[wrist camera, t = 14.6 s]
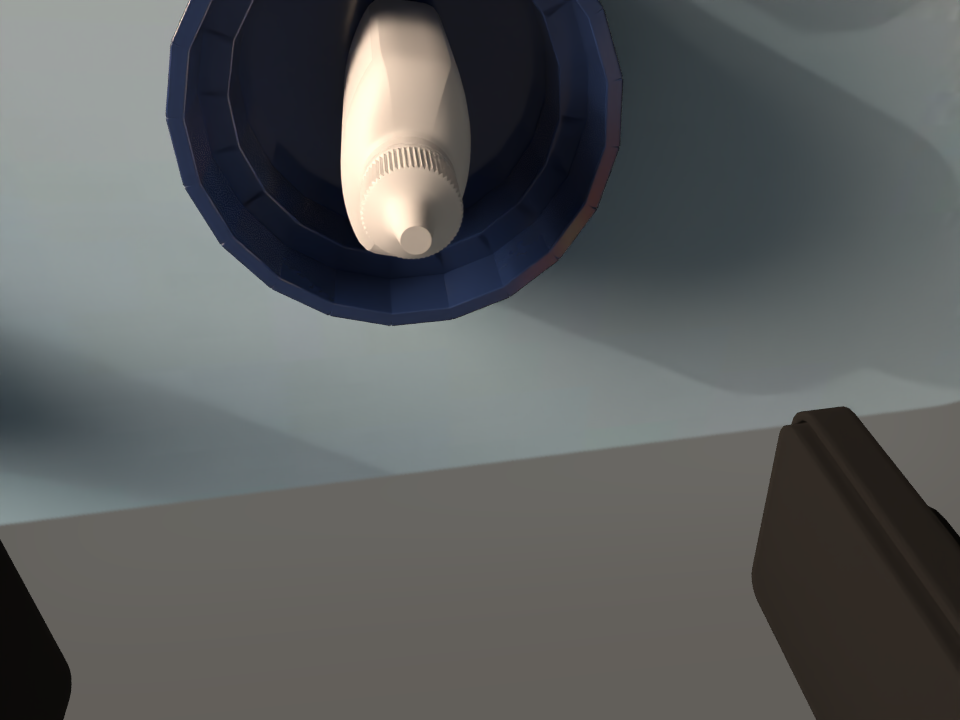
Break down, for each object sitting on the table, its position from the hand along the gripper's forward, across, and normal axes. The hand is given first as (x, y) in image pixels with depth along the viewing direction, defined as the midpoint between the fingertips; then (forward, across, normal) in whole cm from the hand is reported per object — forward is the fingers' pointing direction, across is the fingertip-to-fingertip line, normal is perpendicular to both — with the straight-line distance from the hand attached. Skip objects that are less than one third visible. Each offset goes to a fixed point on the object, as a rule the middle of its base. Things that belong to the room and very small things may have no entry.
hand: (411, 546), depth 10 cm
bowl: (+22, -1, +1) cm, 22 cm away
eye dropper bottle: (+22, -1, +1) cm, 22 cm away
